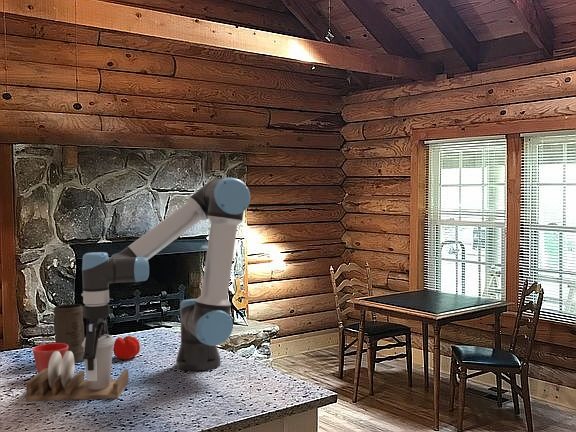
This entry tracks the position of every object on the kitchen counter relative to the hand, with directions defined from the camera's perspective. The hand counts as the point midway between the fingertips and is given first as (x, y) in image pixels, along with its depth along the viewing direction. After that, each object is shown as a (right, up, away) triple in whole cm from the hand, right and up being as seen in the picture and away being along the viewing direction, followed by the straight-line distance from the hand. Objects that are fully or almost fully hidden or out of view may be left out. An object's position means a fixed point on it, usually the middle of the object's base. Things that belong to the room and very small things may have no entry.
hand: (97, 374), depth 189 cm
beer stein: (-23, -4, +37) cm, 44 cm away
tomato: (-1, -4, +38) cm, 38 cm away
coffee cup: (0, -4, +1) cm, 4 cm away
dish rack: (-5, -5, 0) cm, 7 cm away
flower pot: (-20, -5, +16) cm, 26 cm away
